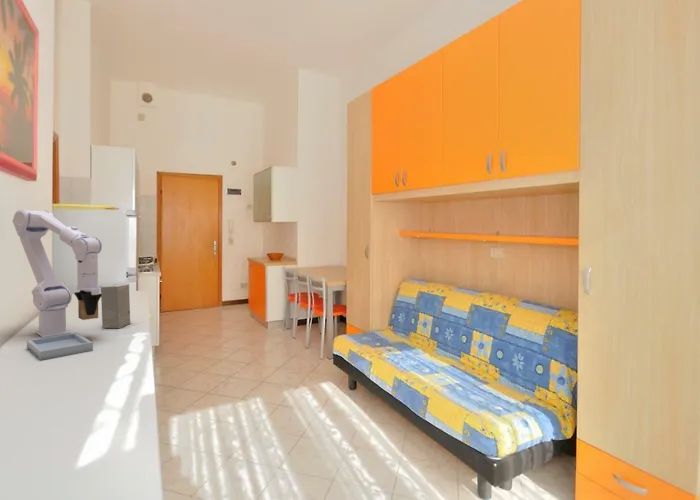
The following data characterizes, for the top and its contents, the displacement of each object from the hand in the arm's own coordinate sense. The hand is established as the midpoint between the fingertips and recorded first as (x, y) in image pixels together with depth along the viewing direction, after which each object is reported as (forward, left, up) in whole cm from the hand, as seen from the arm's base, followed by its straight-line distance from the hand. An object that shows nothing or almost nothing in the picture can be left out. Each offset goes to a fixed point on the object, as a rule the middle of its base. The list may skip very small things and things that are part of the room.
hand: (88, 313), depth 135 cm
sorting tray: (+8, -10, -8) cm, 15 cm away
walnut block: (0, 0, -2) cm, 2 cm away
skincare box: (-11, +12, -9) cm, 19 cm away
